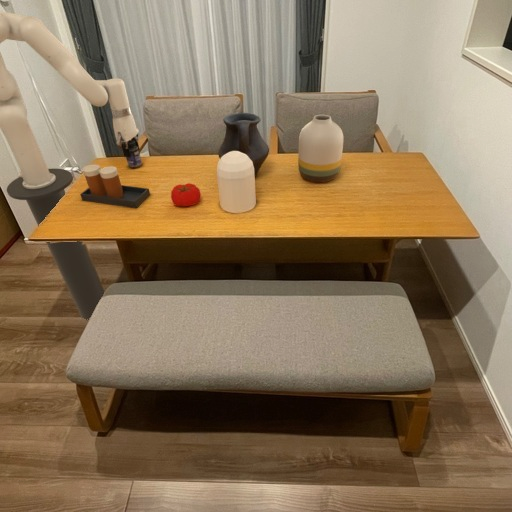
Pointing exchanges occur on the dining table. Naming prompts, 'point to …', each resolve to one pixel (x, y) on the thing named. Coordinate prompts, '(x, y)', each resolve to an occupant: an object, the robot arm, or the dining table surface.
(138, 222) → the dining table surface
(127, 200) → the tray
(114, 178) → the amber bottle
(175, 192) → the tomato
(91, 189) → the amber bottle
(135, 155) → the pill bottle
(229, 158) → the container
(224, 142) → the pitcher
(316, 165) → the vase
